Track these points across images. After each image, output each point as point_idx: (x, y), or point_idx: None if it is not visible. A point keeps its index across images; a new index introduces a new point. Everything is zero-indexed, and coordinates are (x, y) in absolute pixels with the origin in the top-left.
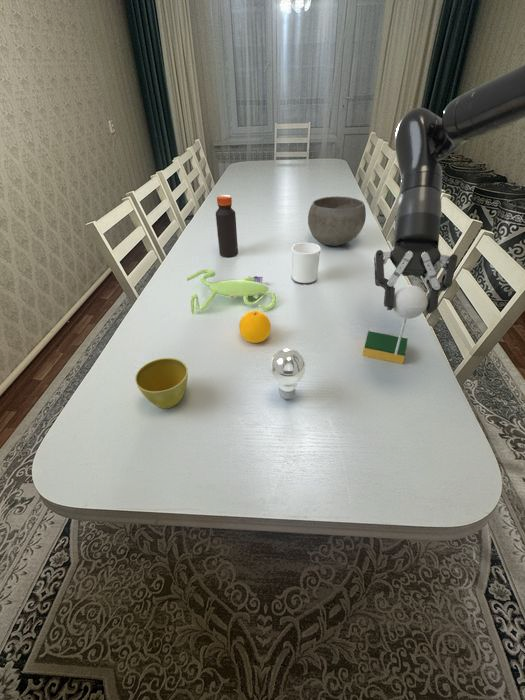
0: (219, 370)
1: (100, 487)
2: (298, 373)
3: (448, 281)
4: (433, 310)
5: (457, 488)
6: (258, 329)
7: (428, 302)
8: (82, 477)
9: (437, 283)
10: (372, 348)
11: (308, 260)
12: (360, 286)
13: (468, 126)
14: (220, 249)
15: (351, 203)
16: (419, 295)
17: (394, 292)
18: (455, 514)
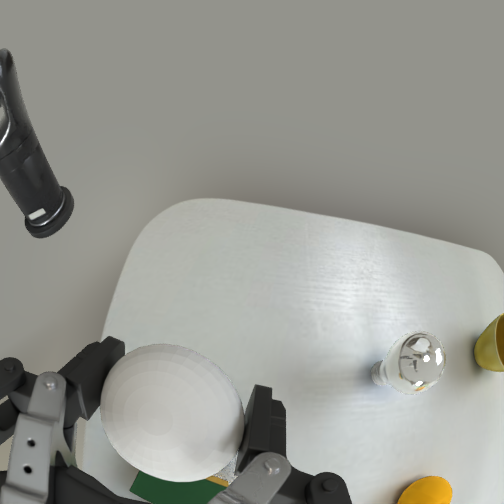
0: (452, 413)
1: (477, 260)
2: (404, 337)
3: (2, 372)
4: (110, 336)
5: (188, 224)
6: (430, 484)
7: (106, 376)
8: (488, 268)
9: (40, 389)
10: (212, 482)
11: None
12: None
13: None
14: None
15: None
16: (145, 366)
17: (251, 428)
18: (206, 204)
